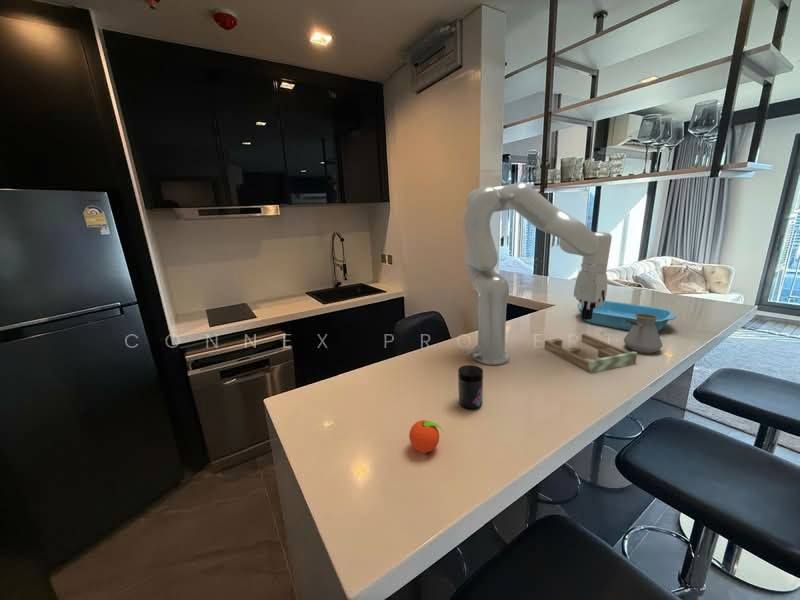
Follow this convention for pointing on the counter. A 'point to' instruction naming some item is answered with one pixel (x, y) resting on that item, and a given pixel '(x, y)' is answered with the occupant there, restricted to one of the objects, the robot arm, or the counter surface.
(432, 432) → the clementine
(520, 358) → the counter surface
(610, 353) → the walnut block
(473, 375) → the supplement container
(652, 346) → the coffee pot
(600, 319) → the casserole dish
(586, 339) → the trap box
